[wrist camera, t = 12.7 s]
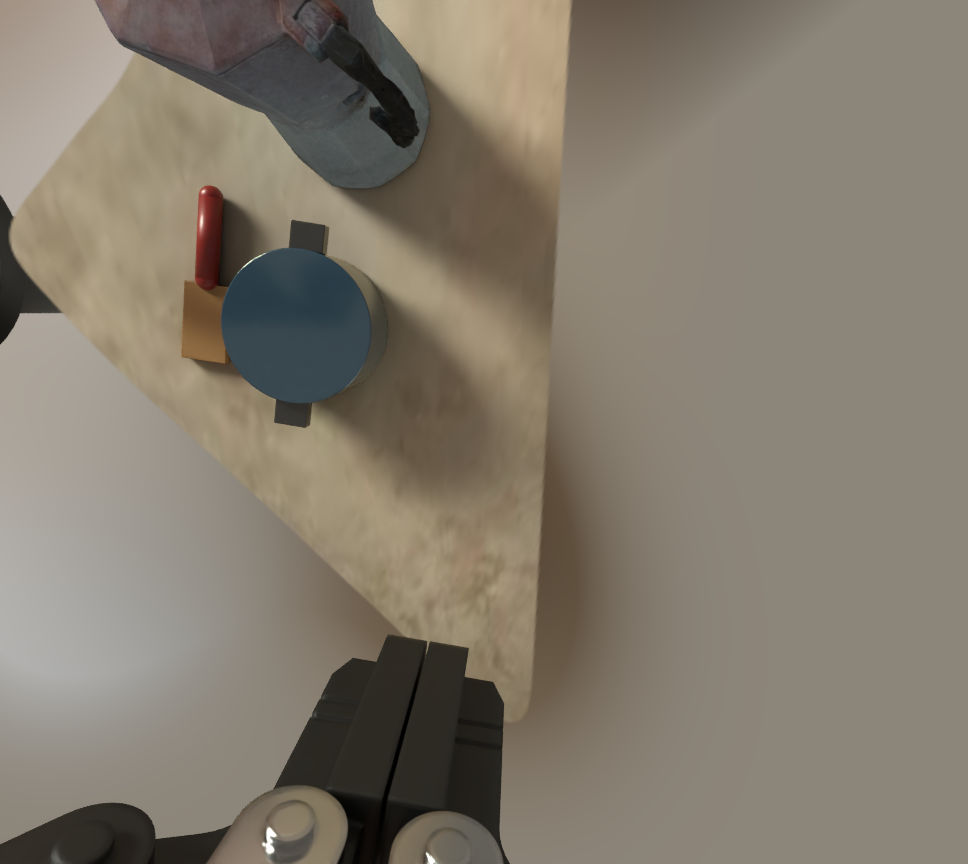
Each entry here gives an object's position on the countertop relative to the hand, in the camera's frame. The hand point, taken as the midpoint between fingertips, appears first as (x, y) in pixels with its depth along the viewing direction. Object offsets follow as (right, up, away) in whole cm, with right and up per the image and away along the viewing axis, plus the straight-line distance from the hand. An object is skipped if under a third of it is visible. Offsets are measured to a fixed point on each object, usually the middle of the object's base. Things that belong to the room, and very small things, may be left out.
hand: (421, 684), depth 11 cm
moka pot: (-6, +24, +25) cm, 35 cm away
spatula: (-17, +15, +28) cm, 35 cm away
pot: (-10, +12, +28) cm, 32 cm away
